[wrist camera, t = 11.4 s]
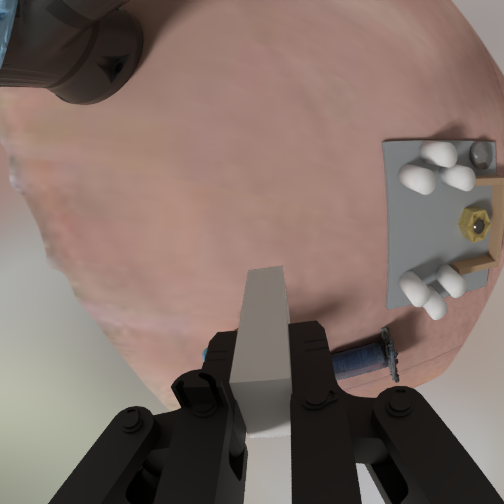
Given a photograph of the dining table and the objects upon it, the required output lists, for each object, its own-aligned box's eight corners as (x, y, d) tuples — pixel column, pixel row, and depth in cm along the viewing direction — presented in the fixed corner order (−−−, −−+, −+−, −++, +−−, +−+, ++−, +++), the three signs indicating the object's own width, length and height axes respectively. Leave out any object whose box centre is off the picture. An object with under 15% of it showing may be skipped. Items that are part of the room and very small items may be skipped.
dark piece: (385, 319, 43) (316, 341, 46) (397, 342, 36) (317, 367, 39) (393, 361, 45) (330, 381, 47) (404, 387, 37) (331, 409, 40)
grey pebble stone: (468, 140, 30) (473, 141, 29) (486, 141, 29) (491, 142, 28) (469, 168, 31) (474, 169, 30) (487, 168, 31) (492, 169, 30)
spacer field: (381, 141, 32) (400, 143, 27) (491, 141, 30) (515, 145, 24) (385, 306, 41) (398, 328, 35) (483, 284, 38) (501, 300, 33)
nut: (457, 208, 33) (467, 213, 31) (482, 204, 33) (491, 209, 30) (457, 238, 35) (466, 244, 33) (481, 233, 34) (490, 238, 32)
